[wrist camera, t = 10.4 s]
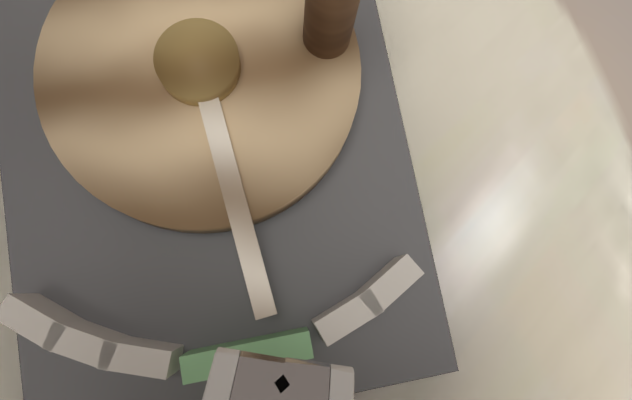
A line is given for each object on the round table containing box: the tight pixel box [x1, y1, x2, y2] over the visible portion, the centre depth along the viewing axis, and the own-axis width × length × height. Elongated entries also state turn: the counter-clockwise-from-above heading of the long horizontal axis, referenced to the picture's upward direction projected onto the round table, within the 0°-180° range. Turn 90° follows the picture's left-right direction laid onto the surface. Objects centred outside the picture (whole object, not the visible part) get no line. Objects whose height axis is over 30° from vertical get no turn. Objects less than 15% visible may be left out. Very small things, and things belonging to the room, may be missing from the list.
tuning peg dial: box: [33, 0, 361, 320], centre depth 21 cm, size 20×16×14 cm
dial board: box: [0, 0, 459, 400], centre depth 27 cm, size 27×21×4 cm
